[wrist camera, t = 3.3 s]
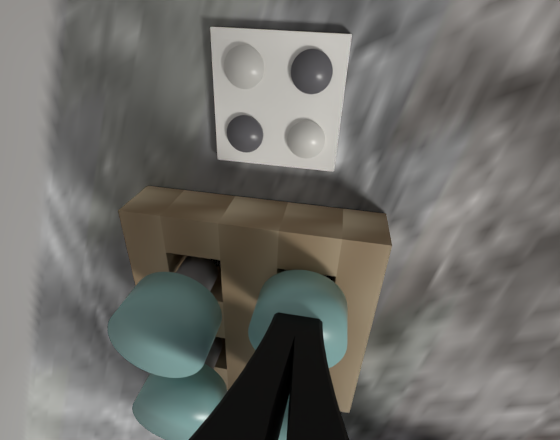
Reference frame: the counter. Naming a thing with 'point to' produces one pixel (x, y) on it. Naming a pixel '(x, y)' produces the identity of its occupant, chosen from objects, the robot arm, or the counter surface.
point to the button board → (262, 260)
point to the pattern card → (279, 95)
